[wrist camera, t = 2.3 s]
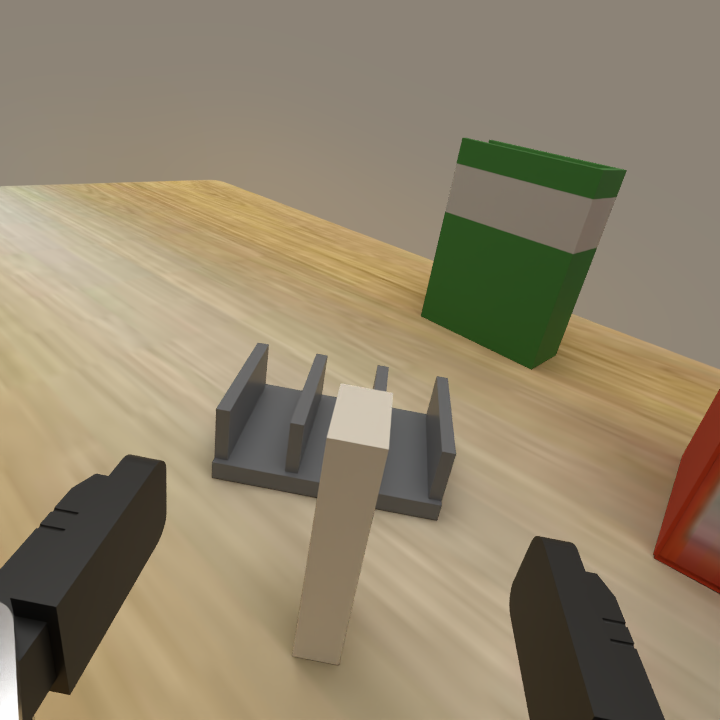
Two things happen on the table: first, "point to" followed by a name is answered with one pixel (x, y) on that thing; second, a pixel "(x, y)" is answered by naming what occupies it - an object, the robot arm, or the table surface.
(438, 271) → the hardback book
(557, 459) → the table surface
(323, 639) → the beige rectangular block
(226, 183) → the table surface
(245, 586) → the table surface
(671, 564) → the file binder
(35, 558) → the robot arm
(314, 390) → the drying rack
